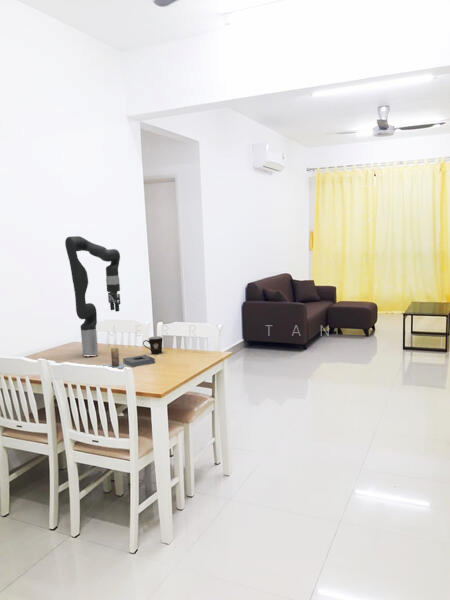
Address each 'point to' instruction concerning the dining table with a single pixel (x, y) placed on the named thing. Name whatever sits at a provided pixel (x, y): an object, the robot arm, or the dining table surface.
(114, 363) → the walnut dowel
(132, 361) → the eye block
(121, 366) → the slate pad
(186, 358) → the dining table surface
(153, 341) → the coffee mug
